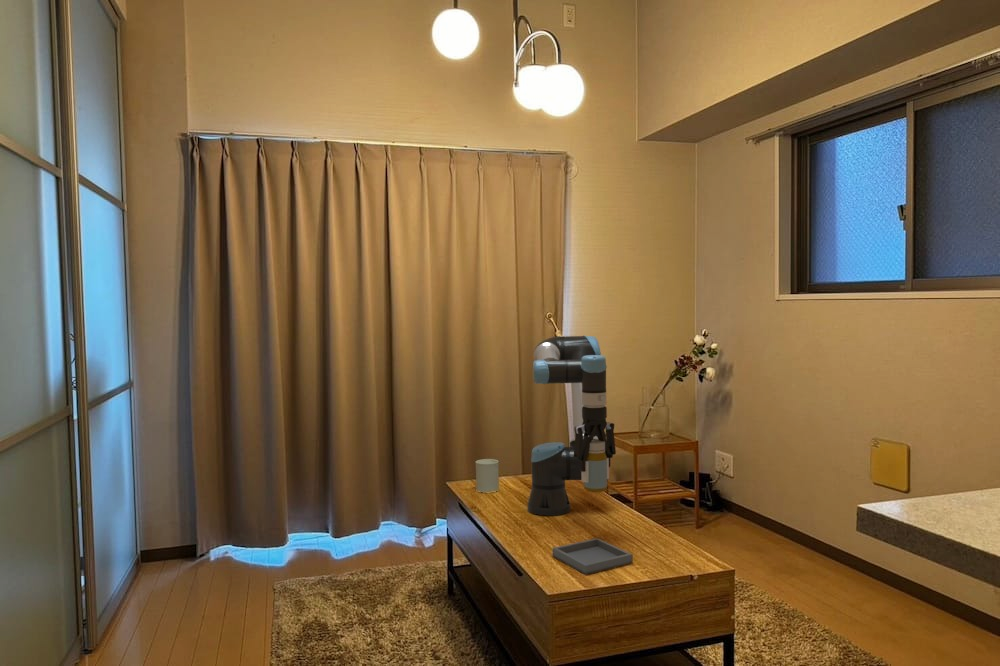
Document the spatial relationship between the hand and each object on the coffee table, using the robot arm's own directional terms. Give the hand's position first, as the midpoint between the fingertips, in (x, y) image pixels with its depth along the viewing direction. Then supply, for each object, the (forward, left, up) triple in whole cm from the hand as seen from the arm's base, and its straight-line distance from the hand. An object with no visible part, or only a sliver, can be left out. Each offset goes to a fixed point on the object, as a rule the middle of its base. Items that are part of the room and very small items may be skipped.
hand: (595, 479), depth 211 cm
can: (-68, -2, -18) cm, 70 cm away
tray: (+14, -12, -18) cm, 26 cm away
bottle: (0, 0, -3) cm, 3 cm away
